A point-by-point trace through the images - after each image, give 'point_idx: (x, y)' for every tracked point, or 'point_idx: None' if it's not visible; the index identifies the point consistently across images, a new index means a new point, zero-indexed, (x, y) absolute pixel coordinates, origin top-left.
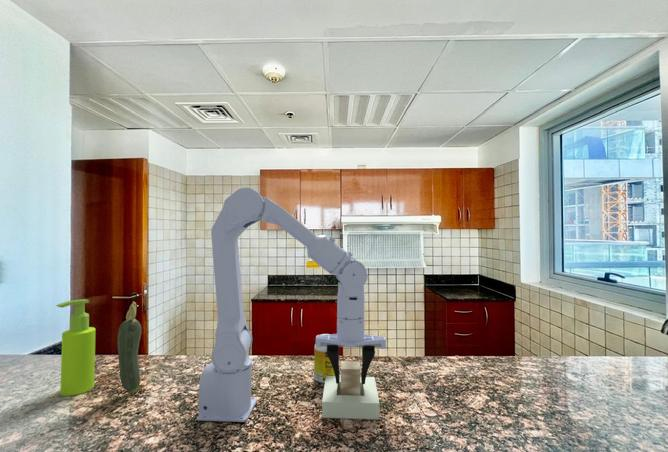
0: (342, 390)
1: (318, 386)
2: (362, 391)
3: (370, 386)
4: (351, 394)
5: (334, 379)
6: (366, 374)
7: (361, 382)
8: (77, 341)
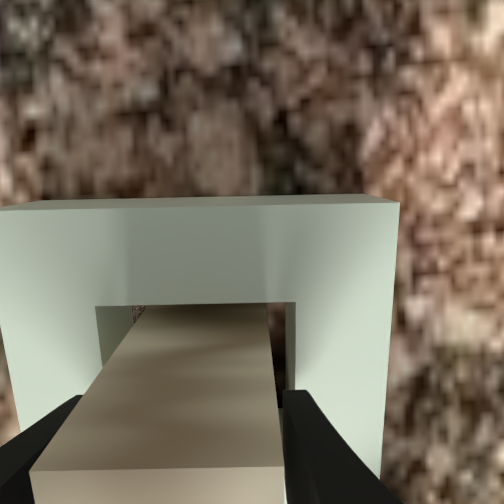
0: (254, 339)
1: (392, 488)
2: None
3: None
4: (191, 329)
5: None
6: (2, 446)
7: None
8: None
